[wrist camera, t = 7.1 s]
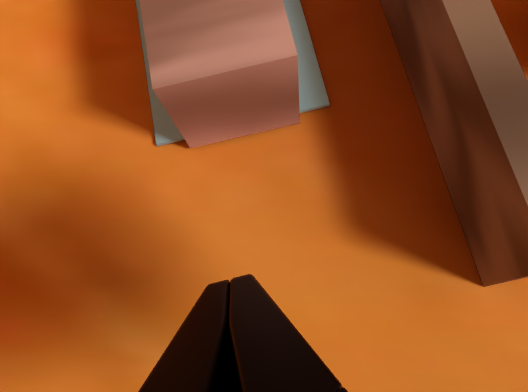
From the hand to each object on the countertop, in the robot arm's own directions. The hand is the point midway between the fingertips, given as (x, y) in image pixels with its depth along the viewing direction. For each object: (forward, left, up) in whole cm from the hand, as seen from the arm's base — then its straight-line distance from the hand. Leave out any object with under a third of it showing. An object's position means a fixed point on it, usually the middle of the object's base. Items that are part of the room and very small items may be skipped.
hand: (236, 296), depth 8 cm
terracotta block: (+8, 0, -7) cm, 10 cm away
